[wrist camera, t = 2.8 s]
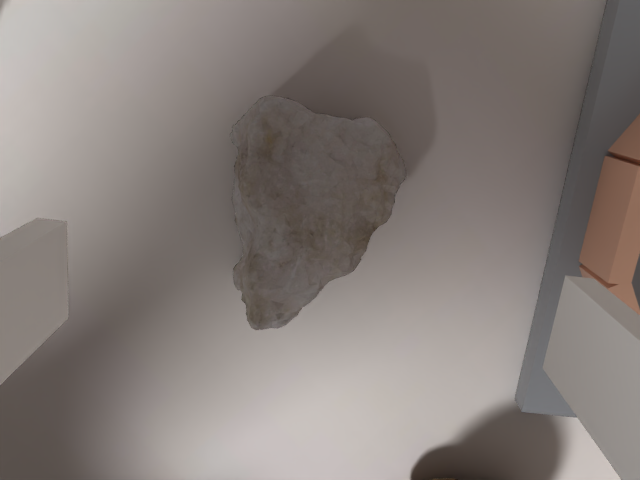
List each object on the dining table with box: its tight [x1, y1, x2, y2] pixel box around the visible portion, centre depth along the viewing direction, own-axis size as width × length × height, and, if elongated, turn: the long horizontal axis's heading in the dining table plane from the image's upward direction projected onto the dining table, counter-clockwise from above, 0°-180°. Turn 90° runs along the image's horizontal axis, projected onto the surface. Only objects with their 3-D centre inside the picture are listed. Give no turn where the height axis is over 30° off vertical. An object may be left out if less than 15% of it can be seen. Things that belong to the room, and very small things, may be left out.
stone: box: [230, 96, 406, 330], centre depth 26 cm, size 10×8×6 cm
